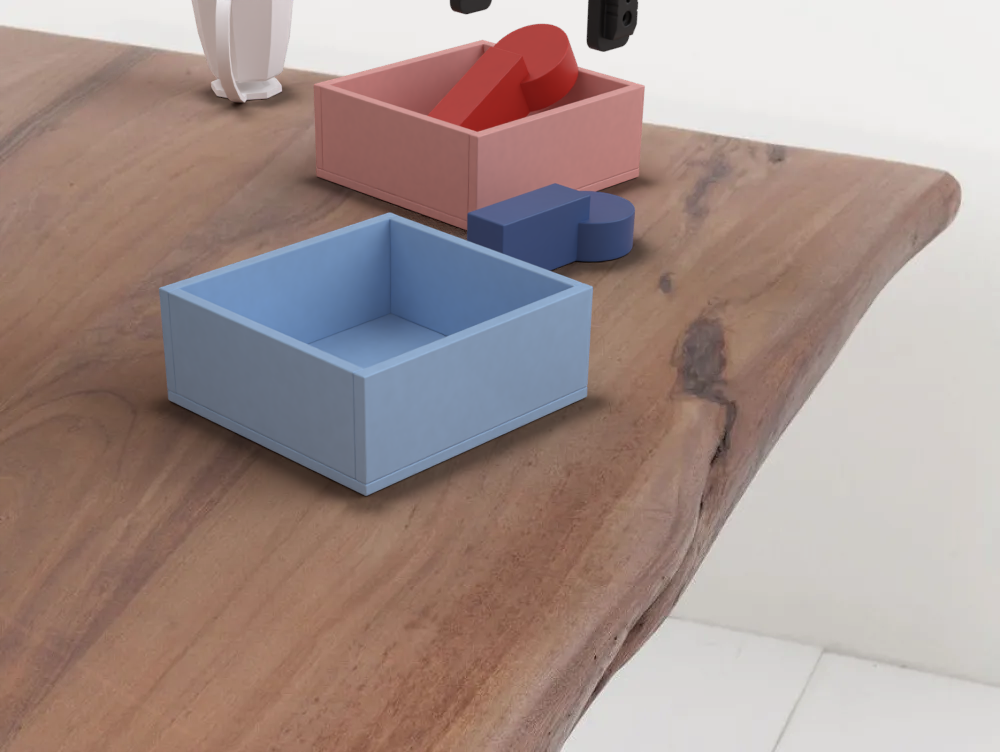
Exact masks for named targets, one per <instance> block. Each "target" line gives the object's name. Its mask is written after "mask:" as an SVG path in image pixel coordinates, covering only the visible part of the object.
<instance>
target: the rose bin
mask: <svg viewBox="0 0 1000 752" xmlns="http://www.w3.org/2000/svg"><path fill="white" fill-rule="evenodd" d="M496 43H497V42H496ZM496 43H495V42H492V41H489V40H485V39H481V40H480V39H479V40H478V41H477V40H476V41H473V42H469V43H466V44H465V43H464V44H462V45H461V44H460V45H457V46H453V47H450V48H446V49H442V50H438V51H434V52H430V53H427V54H423V55H419V56H415V57H412V58H408V59H403V60H400V61H396V62H392V63H388V64H385V65H381V66H377V67H373V68H370V69H366V70H365V69H364V70H362V71H358V72H354V73H350V74H347V75H343V76H339V77H336V78H332V79H328V80H324V81H319V82H316V83H313V108H314V109H313V110H314V113H313V114H314V140H315V141H314V142H315V144H314V145H315V173H316V174H315V175H316V177H317V178H320V179H323V180H326V181H328V182H331V183H335V184H337V185H340V186H342V187H345V188H348V189H351V190H354V191H356V192H359V193H362V194H365V195H368V196H370V197H374V198H376V199H379V200H382V201H384V202H387V203H390V204H393V205H395V206H398V207H401V208H404V209H406V210H408V211H412V212H415V213H417V214H420V215H422V216H425V217H427V218H428V217H429V218H432V219H434V220H437V221H440V222H443V223H445V224H448V225H451V226H453V227H456V228H460V229H462V230H464V231H467V214H468V213H469V212H472V211H475V210H478V209H480V208H483V207H486V206H489V205H492V204H495V203H498V202H501V201H504V200H507V199H510V198H513V197H516V196H519V195H522V194H525V193H528V192H530V191H533V190H536V189H539V188H542V187H545V186H548V185H551V184H554V183H556V184H560V185H563V186H566V187H569V188H572V189H575V190H578V191H596V192H600V191H601V190H604V189H607V188H609V187H613V186H616V185H619V184H622V183H624V182H628V181H631V180H632V179H635V178H638V177H639V176H640V163H641V149H642V135H643V134H642V133H643V118H644V105H645V104H644V103H645V90H646V89H645V88H646V86H645V85H644V84H642V83H641V84H640V83H636V82H633V81H630V80H626V79H624V78H620V77H616V76H613V75H609V74H605V73H601V72H598V71H594V70H592V69H588V68H584V67H582V66H581V67H580V66H578V77H577V80H576V82H575V84H574V86H573V87H572V89H571V90H570V91H569V92H568V93H567V94H566V95H565V96H564V97H563V98H562V99H560V100H559V101H557V102H556V103H554V104H552V105H550V106H548V107H546V108H544V109H541V110H537V111H533V112H530V113H529V114H528V115H527V116H526V117H525V118H522V119H518V120H515V121H512V122H508V123H505V124H502V125H499V126H495V127H492V128H489V129H485V130H482V131H479V132H476V131H473V130H470V129H467V128H464V127H461V126H457V125H454V124H451V123H448V122H445V121H442V120H439V119H436V118H432V117H429V116H427V115H428V114H429V113H430V112H431V111H432V110H433V109H434V108H435V107H436V105H437V104H438V103H439V102H440V101H441V100H442V99H443V98H444V97H445V96H446V94H447V93H448V92H449V91H450V90H451V89H452V88H453V87H454V86H455V85H456V84H457V82H458V81H459V80H460V79H461V78H462V77H463V76H464V75H465V74H466V73H467V71H468V70H469V69H470V68H471V67H472V66H473V65H474V64H475V63H476V62H477V61H478V59H479V58H480V57H481V56H482V55H483V54H484V53H485V52H486V51H487V50H488V49H489V47H494V45H495V44H496Z"/></svg>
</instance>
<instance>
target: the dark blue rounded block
mask: <svg viewBox="0 0 1000 752" xmlns="http://www.w3.org/2000/svg"><path fill="white" fill-rule="evenodd" d="M635 217H636V208H635V205H634V204H633V203H632V202H631V201H630V200H628V199H626V198H624V197H622V196H619V195H616V194H613V193H608V192H603V191H602V192H601V191H578V190H575V189H572V188H569V187H566V186H563V185H560V184H556V183H554V184H551V185H548V186H545V187H542V188H539V189H536V190H533V191H530V192H528V193H525V194H522V195H519V196H516V197H513V198H510V199H507V200H504V201H501V202H498V203H495V204H492V205H489V206H486V207H483V208H480V209H478V210H475V211H472V212H469V213H468V214H467V230H466V241H469V242H472V243H475V244H477V245H480V246H483V247H486V248H488V249H491V250H494V251H497V252H499V253H502V254H505V255H508V256H510V257H513V258H516V259H519V260H521V261H524V262H527V263H530V264H532V265H535V266H538V267H541V268H543V269H546V270H549V271H553V270H556V269H558V268H561V267H564V266H566V265H569V264H571V263H574V262H587V263H591V262H594V263H595V262H606V261H612V260H615V259H619V258H622V257H624V256H627V254H629V253H630V252H631V251H632V249H633V247H634V246H633V245H634V232H635V231H634V230H635V220H636V219H635Z"/></svg>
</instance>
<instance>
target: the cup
mask: <svg viewBox="0 0 1000 752" xmlns="http://www.w3.org/2000/svg"><path fill="white" fill-rule="evenodd" d="M191 4H192V10H193V14H194V21H195V25H196V30H197V34H198V37H199V42H200V44H201V48H202V51H203V54H204V57H205V61H206V64H207V67H208V70H209V71H210V72H211V74H212V76H214V77H215V78H216V79H215V80H212V81H210V85H211V88H210V89H212V91H213V93H214V95H216V97H220V98H221V97H222V98H226V99H228V100H229V101H230V102H231V103H242V104H243V103H245V104H246V101H249V100H261V99H269V98H272V97H273V96H275V95H278V94H279V93H280V94H281V92H283V86H282V83H280V81H279V80H278V79H277V76H279V75H281V74H282V73H283V72H284V67H285V62H286V58H287V57H286V56H287V53H288V49H289V48H288V47H289V43H290V38H291V27H292V19H293V18H292V17H293V7H294V0H191Z"/></svg>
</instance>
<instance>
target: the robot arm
mask: <svg viewBox="0 0 1000 752" xmlns="http://www.w3.org/2000/svg"><path fill="white" fill-rule="evenodd" d="M492 2H493V0H449V6H450V9H451V10H452V11H453V12H454V13H459V14H463V15H470V14H474V13H478V12H483V11H486V10H488V9H489V8H490V7H491V4H492ZM638 10H639V0H587V16H586V17H587V19H586V20H587V21H586V46H587V47H588V48H589V49H590V50H594V51H598V52H602V53H603V52H604V53H606V52H609V51H612V50H616V49H619V48H623V47H624V46H626V45H627V43H628V41H629V39H630V36H634V33H635V30H636V28H637V25H638V14H639V13H638V12H639V11H638Z"/></svg>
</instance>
